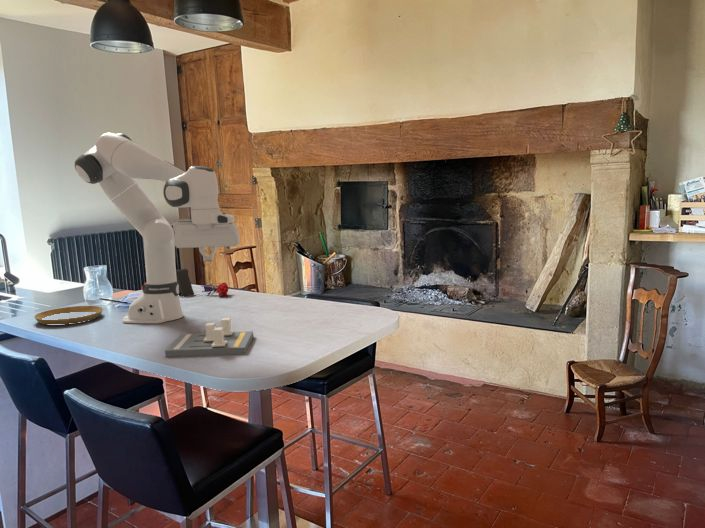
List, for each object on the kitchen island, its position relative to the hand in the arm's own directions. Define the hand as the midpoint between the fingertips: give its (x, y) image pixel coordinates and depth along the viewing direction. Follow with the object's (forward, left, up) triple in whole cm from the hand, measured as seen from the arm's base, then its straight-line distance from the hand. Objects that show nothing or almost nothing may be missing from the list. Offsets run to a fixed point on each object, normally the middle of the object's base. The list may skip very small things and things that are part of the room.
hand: (208, 261), depth 173 cm
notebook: (-55, +77, -28) cm, 99 cm away
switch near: (+4, -10, -25) cm, 27 cm away
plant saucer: (-65, +40, -28) cm, 81 cm away
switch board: (0, -4, -27) cm, 27 cm away
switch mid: (0, -4, -25) cm, 25 cm away
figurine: (-15, +76, -27) cm, 82 cm away
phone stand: (-32, +82, -27) cm, 92 cm away
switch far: (+4, +2, -25) cm, 25 cm away
